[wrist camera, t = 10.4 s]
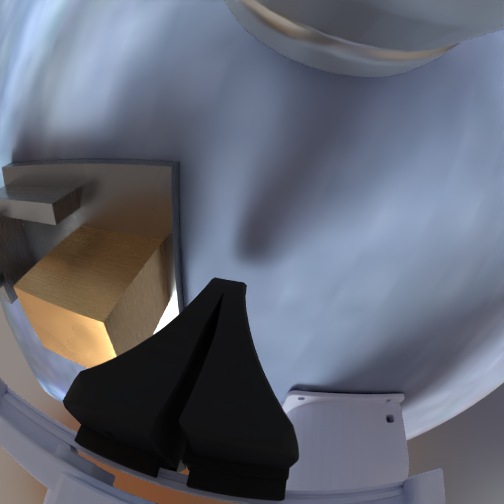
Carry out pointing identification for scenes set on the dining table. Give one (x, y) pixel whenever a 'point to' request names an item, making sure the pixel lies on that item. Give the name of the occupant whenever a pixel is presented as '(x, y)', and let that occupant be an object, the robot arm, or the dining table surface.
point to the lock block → (96, 294)
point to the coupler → (88, 212)
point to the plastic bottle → (366, 31)
